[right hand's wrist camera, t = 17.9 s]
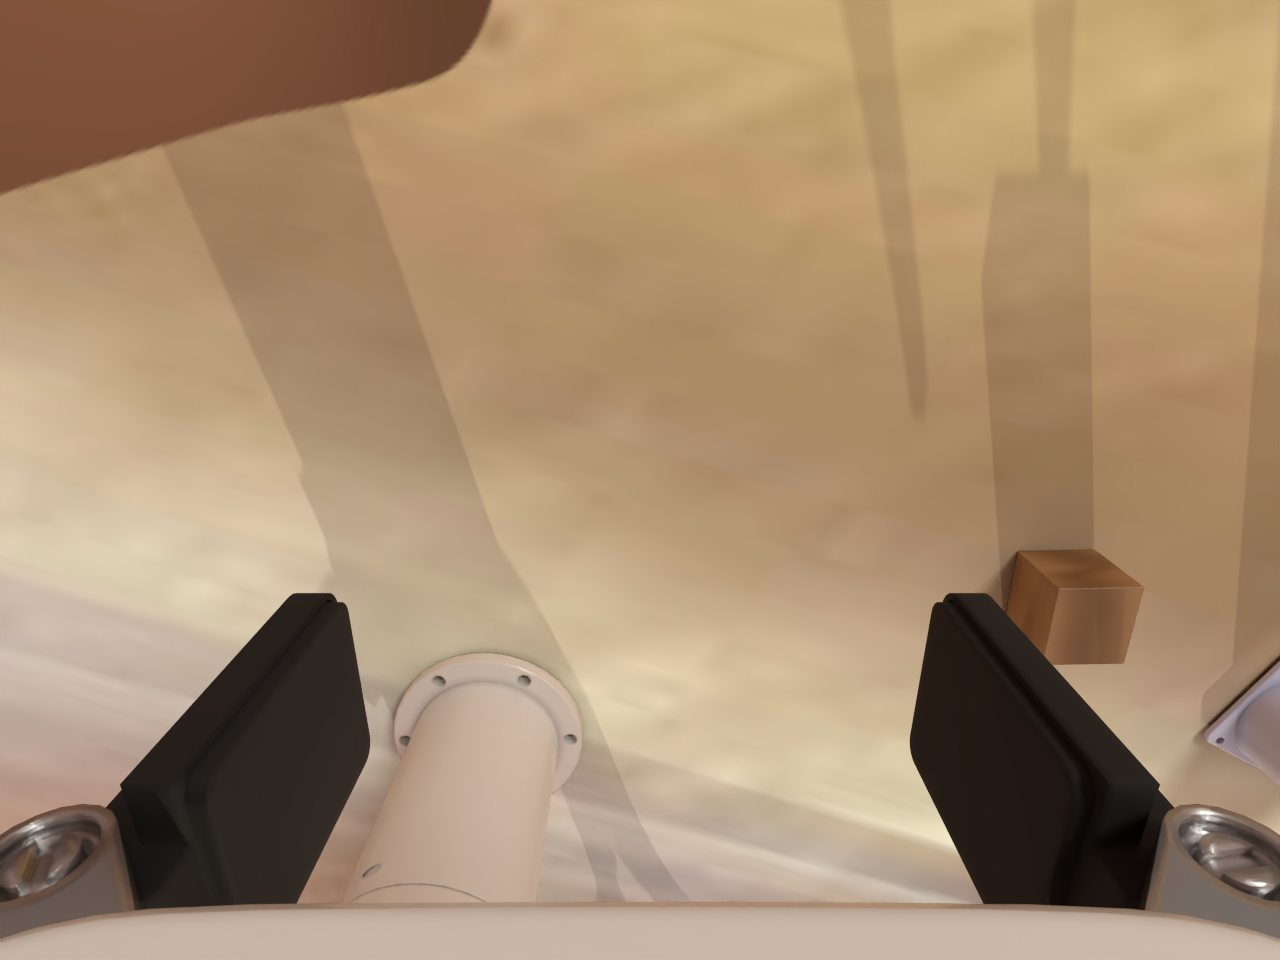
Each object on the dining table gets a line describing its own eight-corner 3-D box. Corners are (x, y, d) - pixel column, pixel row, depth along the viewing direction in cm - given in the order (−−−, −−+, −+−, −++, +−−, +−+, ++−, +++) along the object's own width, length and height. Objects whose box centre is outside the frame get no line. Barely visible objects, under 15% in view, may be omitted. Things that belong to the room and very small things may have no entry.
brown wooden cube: (1094, 549, 43) (1145, 587, 39) (1078, 620, 45) (1123, 663, 41) (1017, 550, 43) (1058, 589, 39) (1003, 621, 45) (1041, 665, 41)
